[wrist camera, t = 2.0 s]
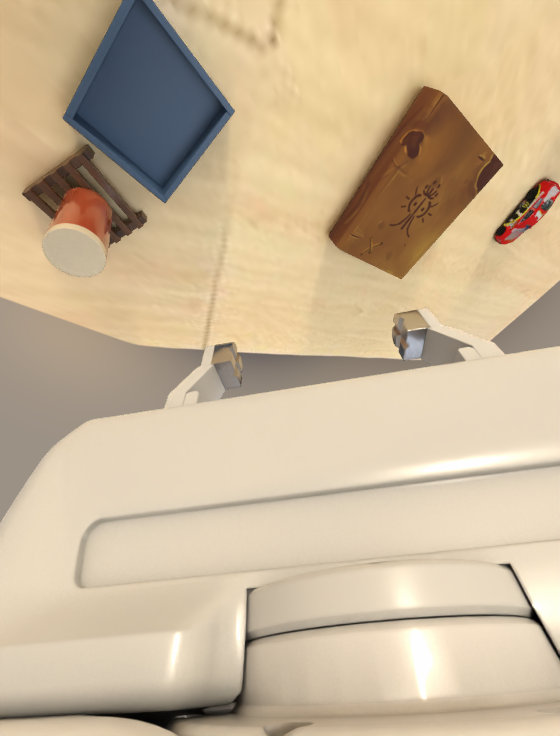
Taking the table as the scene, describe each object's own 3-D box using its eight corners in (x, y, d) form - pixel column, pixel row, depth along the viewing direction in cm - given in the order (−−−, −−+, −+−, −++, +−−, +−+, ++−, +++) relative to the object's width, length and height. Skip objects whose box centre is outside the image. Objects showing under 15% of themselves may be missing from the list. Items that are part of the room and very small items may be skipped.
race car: (501, 243, 69) (514, 251, 67) (488, 238, 67) (500, 247, 64) (555, 183, 60) (572, 190, 58) (542, 175, 58) (559, 183, 55)
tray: (164, 193, 42) (164, 203, 40) (68, 111, 33) (62, 118, 31) (229, 105, 37) (235, 111, 35) (136, -21, 28) (134, -24, 26)
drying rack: (92, 250, 45) (90, 258, 44) (25, 188, 38) (20, 196, 36) (146, 216, 44) (146, 223, 42) (88, 144, 36) (85, 150, 34)
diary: (419, 84, 41) (444, 91, 37) (479, 154, 51) (503, 164, 47) (326, 233, 54) (338, 249, 51) (388, 265, 64) (401, 279, 61)
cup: (90, 240, 42) (79, 285, 35) (50, 202, 37) (27, 245, 30) (123, 219, 41) (117, 262, 34) (85, 177, 36) (71, 217, 30)
